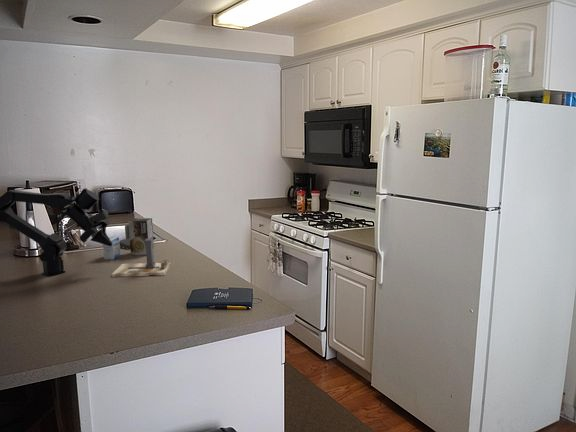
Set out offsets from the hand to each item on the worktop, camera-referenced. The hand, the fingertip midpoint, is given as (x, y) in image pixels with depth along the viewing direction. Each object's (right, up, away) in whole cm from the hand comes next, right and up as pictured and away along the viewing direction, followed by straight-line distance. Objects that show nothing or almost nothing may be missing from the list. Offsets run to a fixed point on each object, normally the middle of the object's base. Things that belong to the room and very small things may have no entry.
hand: (111, 245), depth 182 cm
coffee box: (+3, -6, +31) cm, 32 cm away
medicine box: (-9, -7, +24) cm, 26 cm away
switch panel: (+12, -11, +3) cm, 16 cm away
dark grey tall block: (+15, -9, +3) cm, 17 cm away
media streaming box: (-6, -3, +48) cm, 48 cm away
